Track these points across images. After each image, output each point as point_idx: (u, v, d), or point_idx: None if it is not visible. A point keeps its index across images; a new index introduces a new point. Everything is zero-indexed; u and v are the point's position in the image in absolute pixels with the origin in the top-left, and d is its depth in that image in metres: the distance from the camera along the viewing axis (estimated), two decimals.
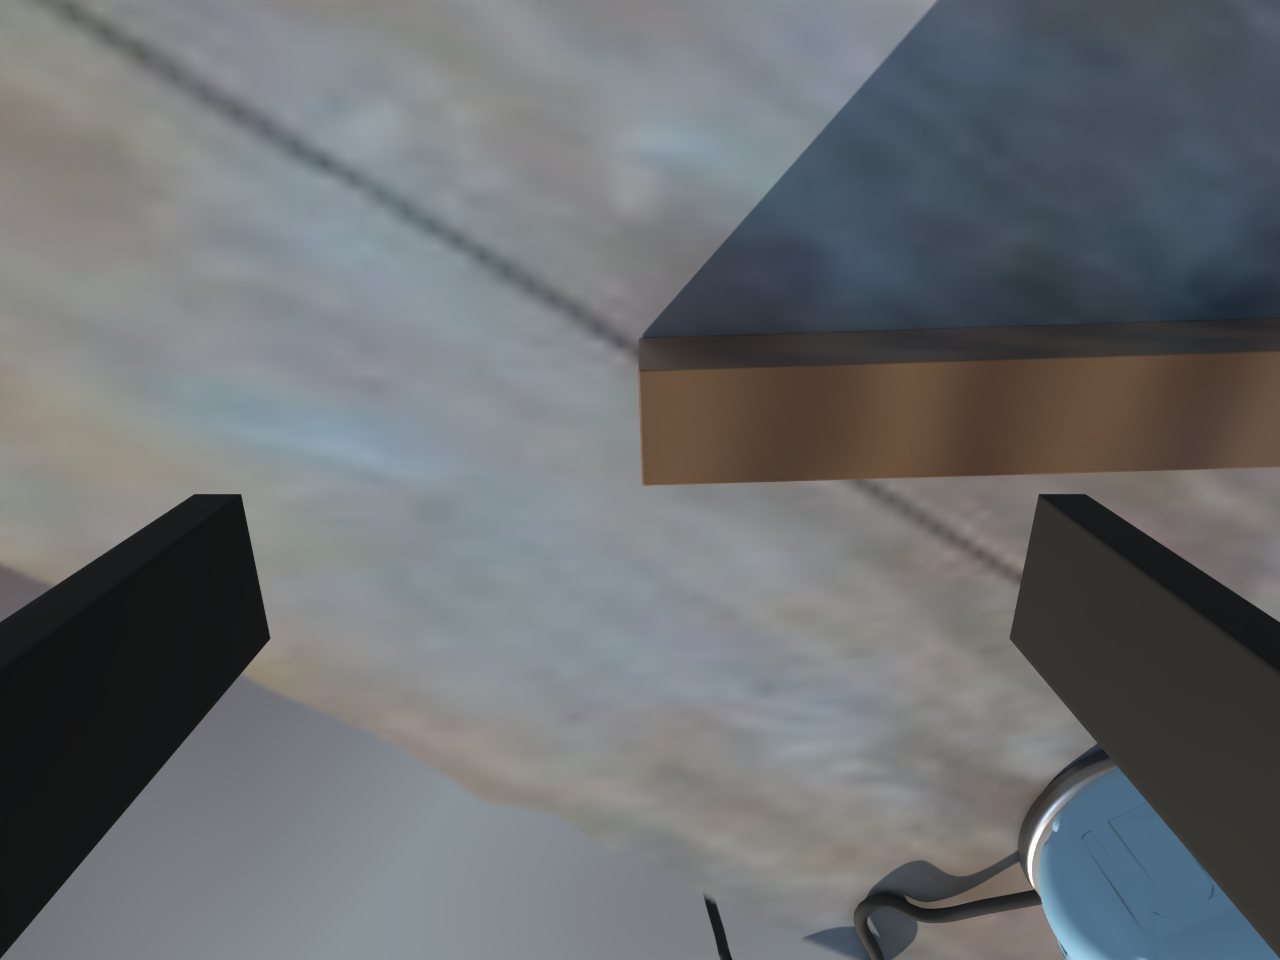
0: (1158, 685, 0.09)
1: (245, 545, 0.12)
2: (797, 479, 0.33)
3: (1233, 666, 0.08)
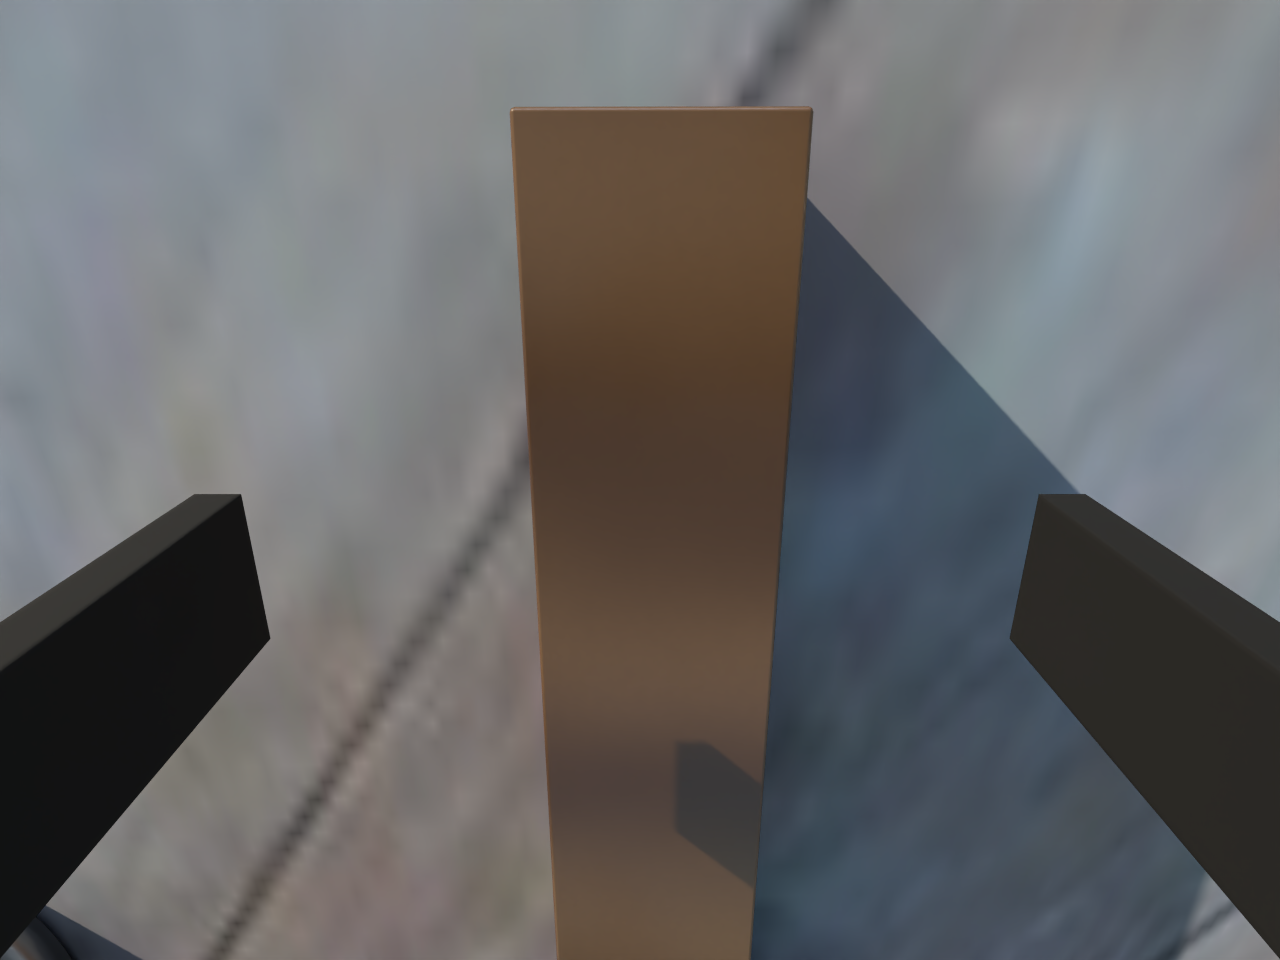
0: (1158, 685, 0.09)
1: (245, 545, 0.12)
2: (536, 481, 0.15)
3: (1233, 666, 0.08)
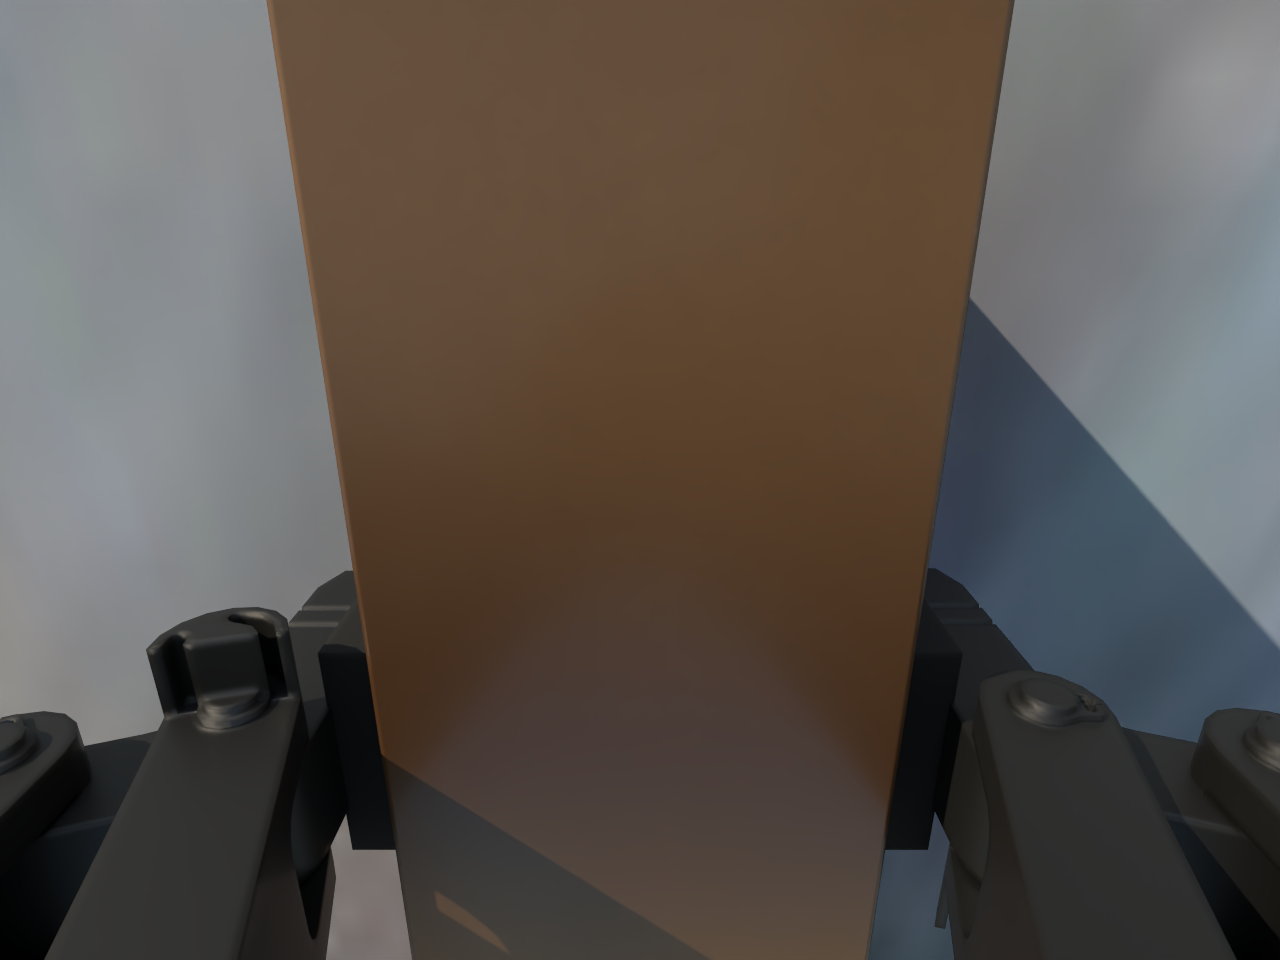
0: None
1: None
2: (393, 772, 0.08)
3: None
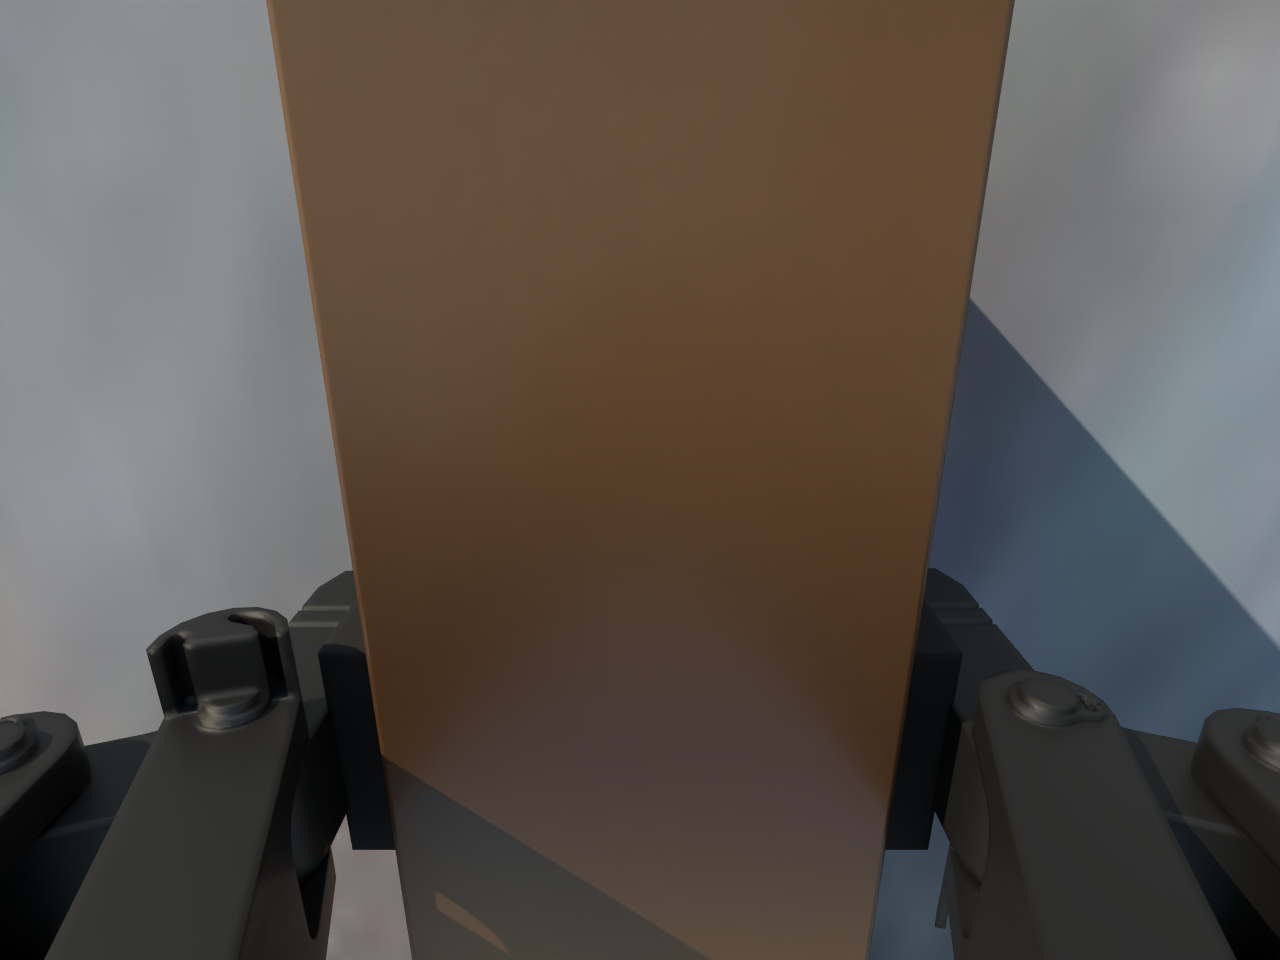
0: None
1: None
2: (393, 773, 0.08)
3: None
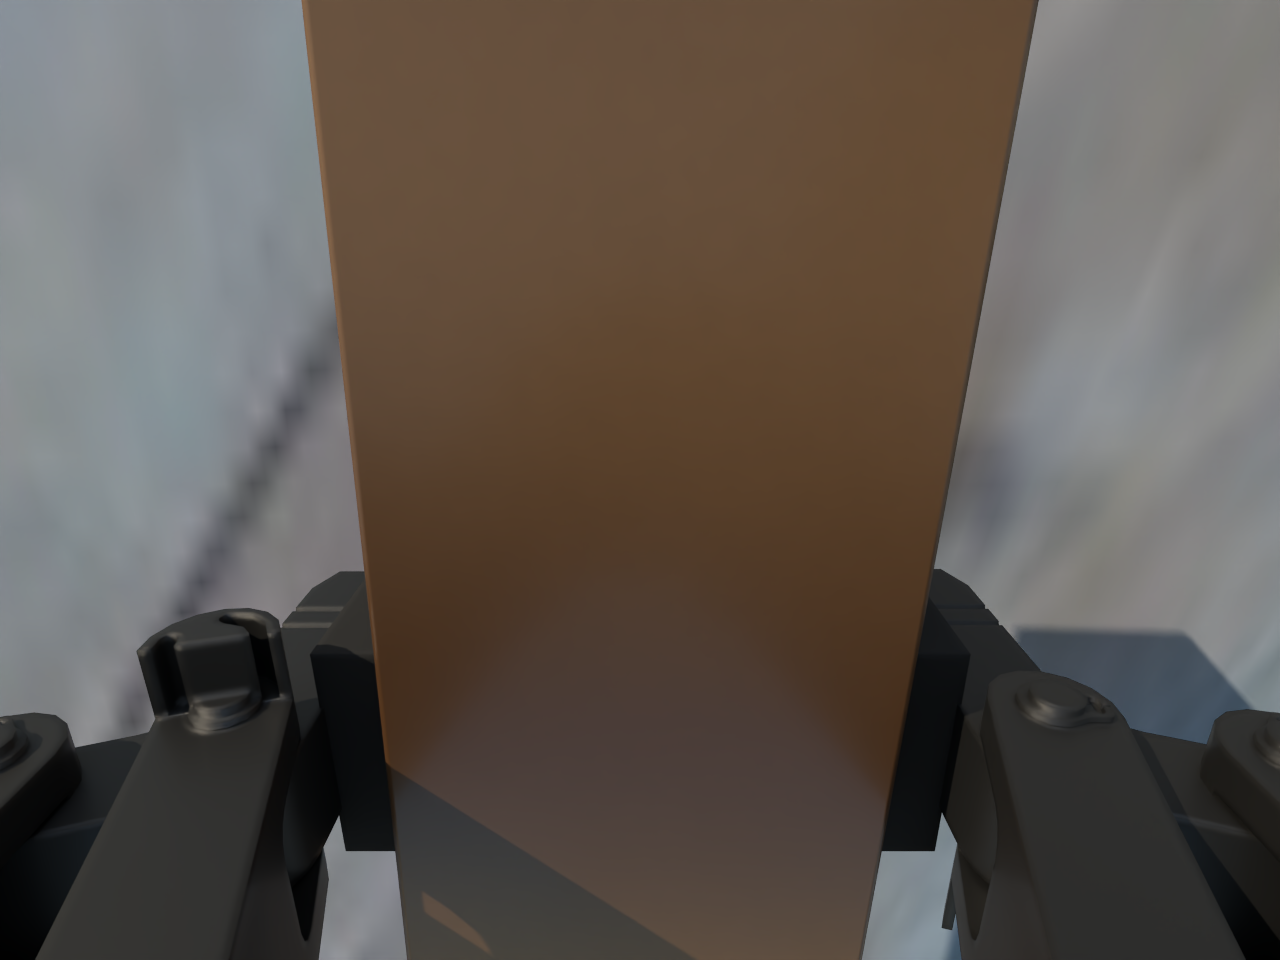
0: None
1: None
2: (395, 764, 0.07)
3: None
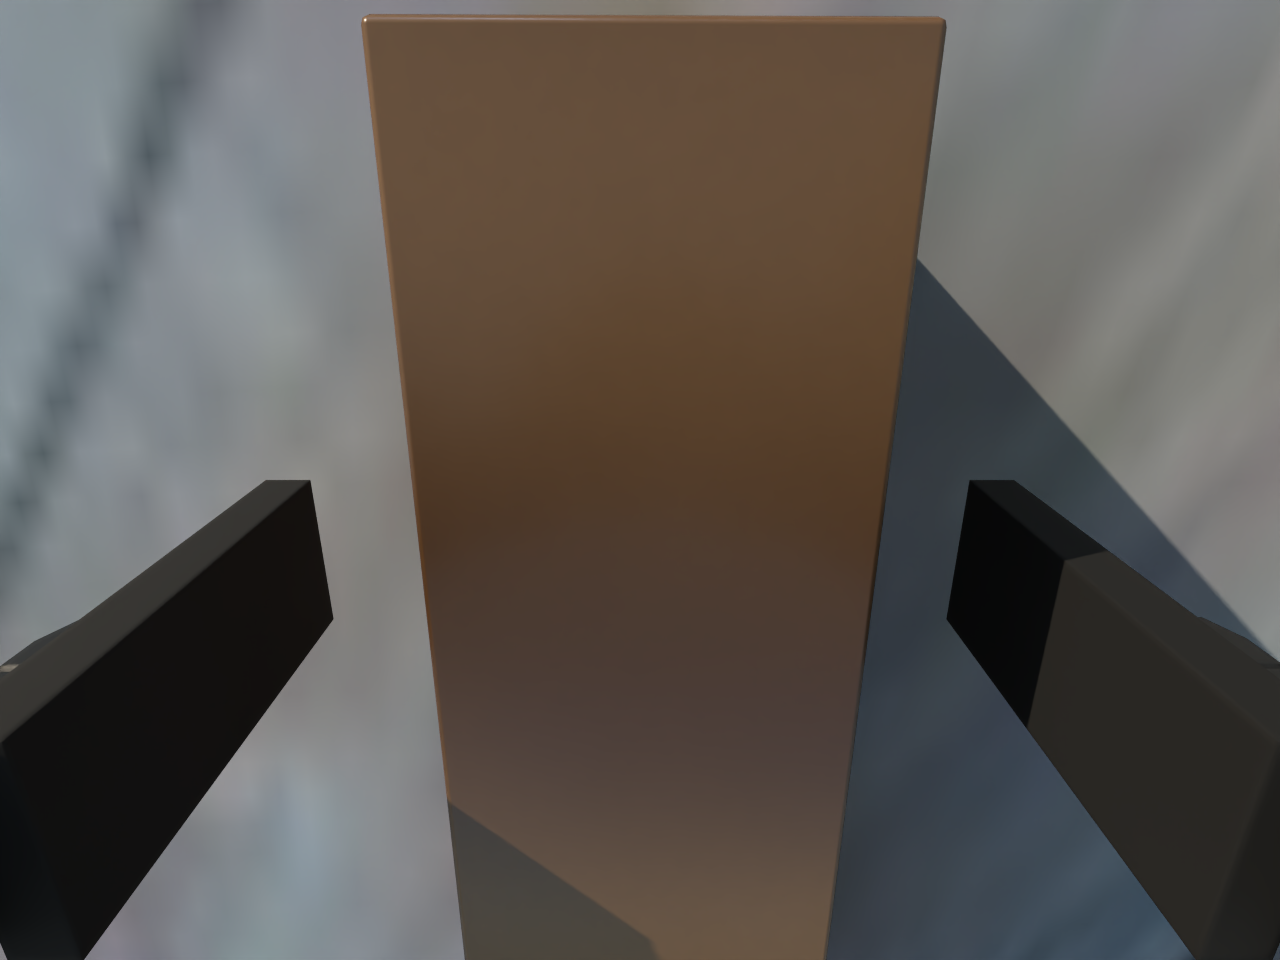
0: (1062, 655, 0.10)
1: (315, 529, 0.13)
2: (441, 674, 0.09)
3: (1119, 633, 0.09)
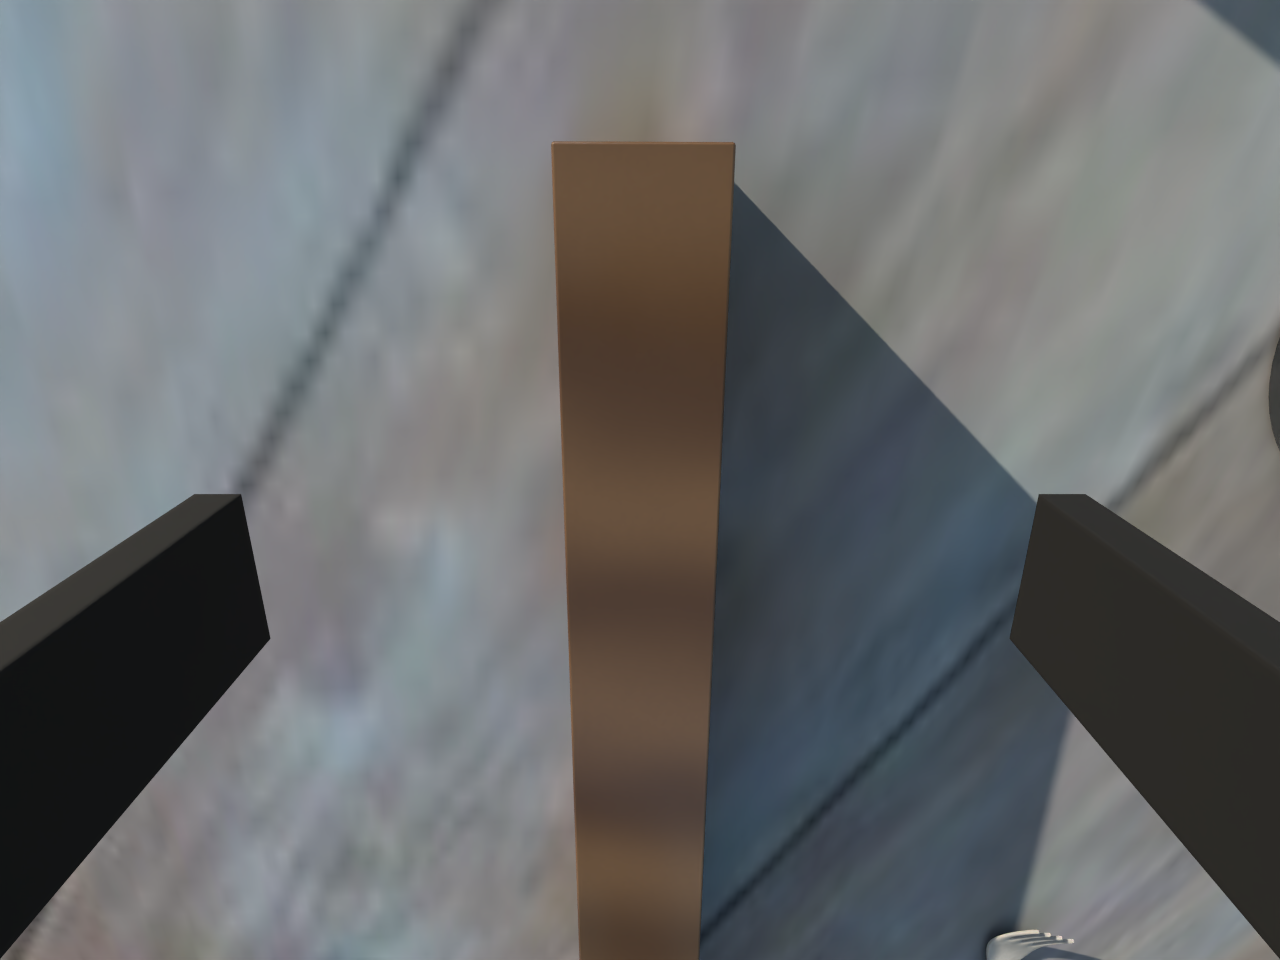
0: (1158, 685, 0.09)
1: (245, 545, 0.12)
2: (563, 381, 0.24)
3: (1233, 666, 0.08)
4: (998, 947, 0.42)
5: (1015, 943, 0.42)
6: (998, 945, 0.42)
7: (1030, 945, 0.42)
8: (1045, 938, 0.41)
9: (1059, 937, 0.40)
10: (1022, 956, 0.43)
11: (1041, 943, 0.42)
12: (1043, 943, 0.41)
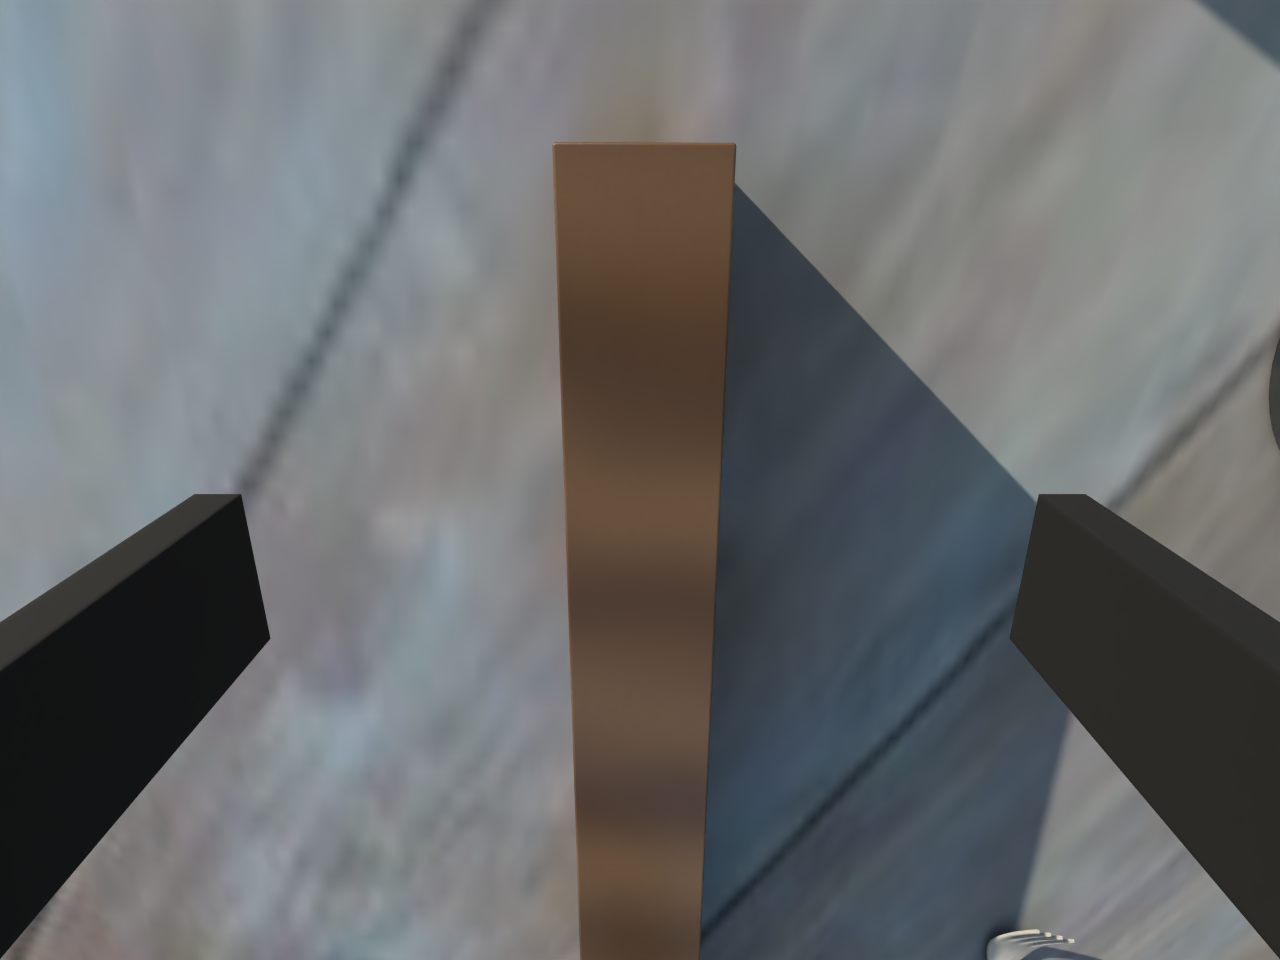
0: (1158, 685, 0.09)
1: (245, 546, 0.12)
2: (564, 381, 0.24)
3: (1233, 666, 0.08)
4: (998, 947, 0.42)
5: (1015, 943, 0.42)
6: (998, 945, 0.42)
7: (1030, 945, 0.42)
8: (1045, 938, 0.41)
9: (1059, 937, 0.40)
10: (1022, 956, 0.43)
11: (1041, 943, 0.42)
12: (1043, 943, 0.42)
